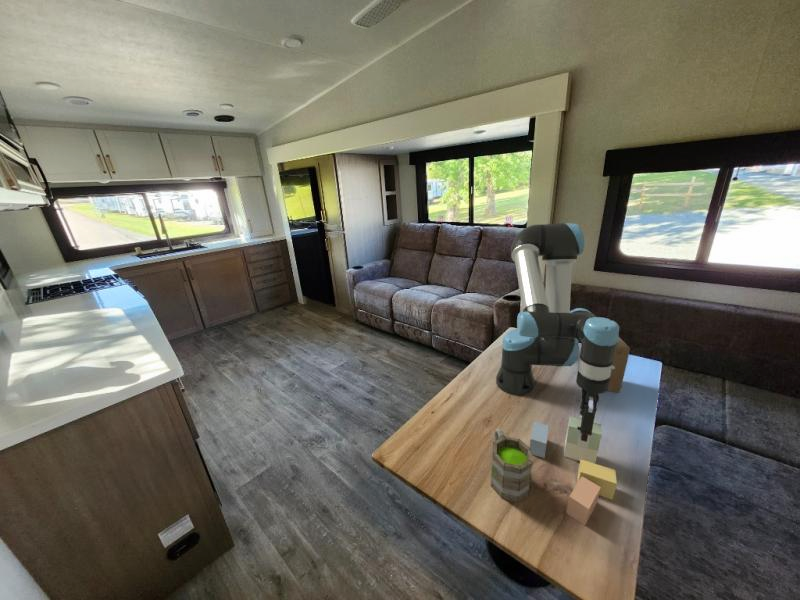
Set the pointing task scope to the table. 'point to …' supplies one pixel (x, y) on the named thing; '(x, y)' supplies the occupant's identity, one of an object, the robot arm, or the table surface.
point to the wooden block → (618, 366)
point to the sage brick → (573, 433)
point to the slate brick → (539, 439)
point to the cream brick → (579, 452)
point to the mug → (511, 467)
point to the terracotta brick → (583, 500)
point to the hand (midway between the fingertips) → (582, 440)
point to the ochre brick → (599, 477)
